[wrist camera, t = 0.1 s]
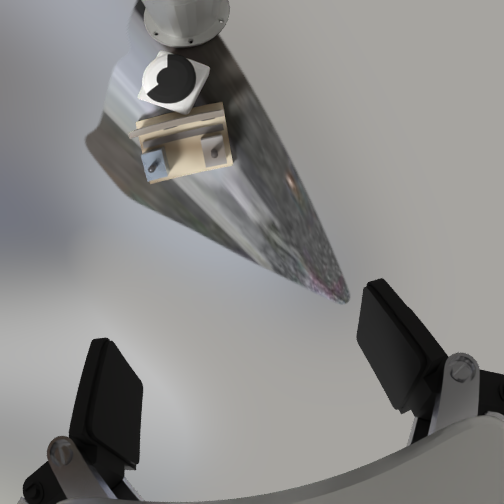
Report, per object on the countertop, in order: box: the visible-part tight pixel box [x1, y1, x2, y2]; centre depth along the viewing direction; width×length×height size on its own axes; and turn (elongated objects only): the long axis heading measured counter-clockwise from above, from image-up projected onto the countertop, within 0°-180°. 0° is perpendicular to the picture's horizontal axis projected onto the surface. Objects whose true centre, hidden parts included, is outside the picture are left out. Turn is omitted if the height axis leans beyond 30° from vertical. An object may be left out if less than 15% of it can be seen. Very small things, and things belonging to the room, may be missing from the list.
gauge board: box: [128, 102, 233, 184], centre depth 36 cm, size 10×13×8 cm
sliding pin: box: [141, 146, 170, 181], centre depth 36 cm, size 4×3×6 cm
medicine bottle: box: [138, 50, 210, 115], centre depth 30 cm, size 7×7×12 cm
